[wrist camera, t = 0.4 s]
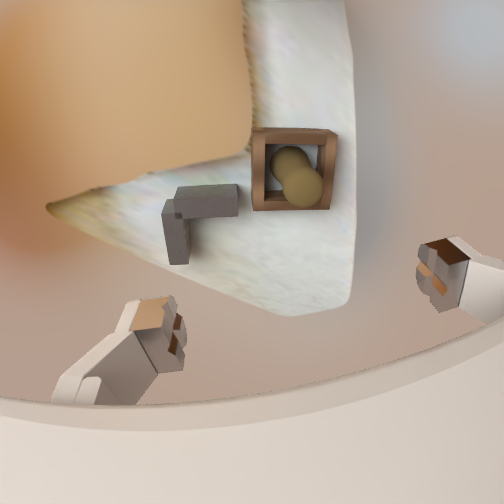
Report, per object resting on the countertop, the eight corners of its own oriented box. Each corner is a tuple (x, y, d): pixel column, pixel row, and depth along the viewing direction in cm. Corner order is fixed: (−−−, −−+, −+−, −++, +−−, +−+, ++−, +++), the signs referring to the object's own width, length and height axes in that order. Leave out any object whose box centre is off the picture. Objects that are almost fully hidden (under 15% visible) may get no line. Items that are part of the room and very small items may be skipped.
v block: (144, 226, 49) (137, 242, 44) (205, 157, 43) (203, 167, 39) (183, 254, 52) (180, 272, 48) (246, 192, 47) (248, 206, 43)
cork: (306, 183, 47) (326, 215, 38) (268, 182, 46) (279, 214, 37) (311, 146, 43) (334, 170, 34) (271, 144, 43) (284, 167, 34)
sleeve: (251, 127, 41) (253, 133, 38) (328, 129, 42) (337, 135, 39) (251, 199, 48) (253, 211, 44) (322, 198, 48) (329, 209, 45)
